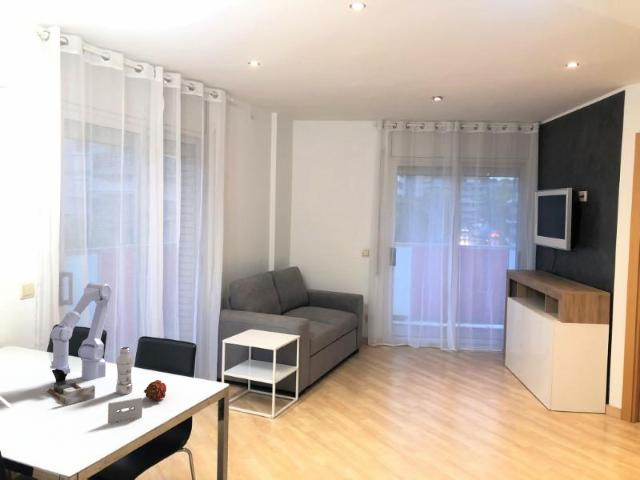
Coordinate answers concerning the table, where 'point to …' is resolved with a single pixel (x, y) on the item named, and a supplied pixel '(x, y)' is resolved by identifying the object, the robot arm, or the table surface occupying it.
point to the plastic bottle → (124, 372)
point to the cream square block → (67, 390)
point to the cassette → (124, 415)
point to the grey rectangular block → (64, 385)
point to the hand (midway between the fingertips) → (60, 386)
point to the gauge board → (75, 394)
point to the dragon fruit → (155, 390)
